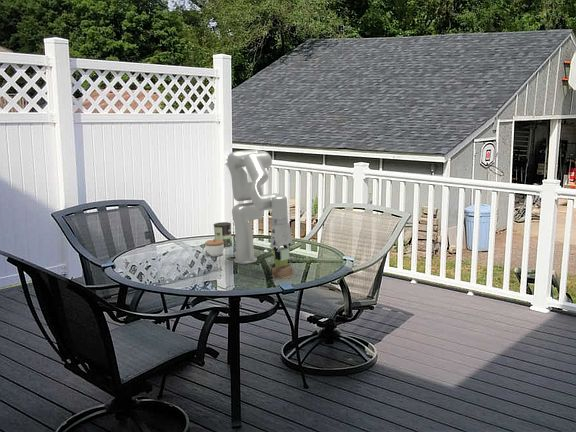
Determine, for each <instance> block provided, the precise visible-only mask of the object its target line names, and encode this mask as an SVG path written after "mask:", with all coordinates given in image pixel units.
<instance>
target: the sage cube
mask: <svg viewBox="0 0 576 432" xmlns="http://www.w3.org/2000/svg"><path fill="white" fill-rule="evenodd" d="M273 251H274V250H273ZM289 251H290V247H289V248H284V247H283V246H280V250H279V252H280V258H281V259H280V260H281V261H283V260H286V259H288V260H289V259H290V252H289ZM274 255H275V251H274ZM276 260H277V259H276Z"/></svg>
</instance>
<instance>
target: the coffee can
mask: <svg viewBox="0 0 576 432" xmlns="http://www.w3.org/2000/svg"><path fill="white" fill-rule="evenodd" d="M213 229H214V239H215V240H223V241H224V248H226V249H229V248H228V247H230V248H232V247H233V240H232V239H233V238H232V223H231V222H227V221H226V222H224V221H223V222H216V223H214V224H213ZM231 246H232V247H231Z"/></svg>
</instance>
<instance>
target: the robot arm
mask: <svg viewBox="0 0 576 432" xmlns="http://www.w3.org/2000/svg"><path fill="white" fill-rule="evenodd" d="M226 161H227V162H226V163H227V168H228V171H229V173H230V177H231V187H232V196H233V199H234V200H235V201H237V202H244V203H238V204H236V205H234V206H233V207H232V209H231V214H232V218H233V224H234V234H235V238H234V239H235V251H234V252H233V253H232V256H234V257H235V258H233V262H234V263H235V264H239V265H241V264H242V265H245V264H246V265H248V264H252V263H256V262H257V261H258V258H257V257H256V256H255V249H254V232H253V231H254V230H253V227H252V225H251V224H250V223H249V221H255V220H260V219H262V218H263V217H264V214H265V211H269V210H271V224H272V225H271V231H270V236H271V237H270V239H271V240H270V241H271V242H270V244H269V248H271V249H272V251H275V259H277V260H280V259H281V258H280V252H279V250H280V247H283V248H289V249H290V247H291V244H292V242H293V239H292V230H291V225H290V223H289V218H288V217H289V216H288V213H289V212H288V198H287V196H285V195H281V194H280V193H278V192H277V193H267V194H263V188H262V185H264V184H265V183H266V182H268V180H269V173H268V172H267V170H266V169H268V168H270V167H271V166H272V164H273V159H272V156H271V155H270V153H268V151H264V150H260V149H246V150H237V151H232V152H229V154H228V156H227V159H226ZM244 168H245V169H246V170H245V169H244ZM246 171H247V172H246ZM248 175H249V177H250V178H251V181H249V180H248ZM245 201H246V202H245ZM247 201H251V202H247Z"/></svg>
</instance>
